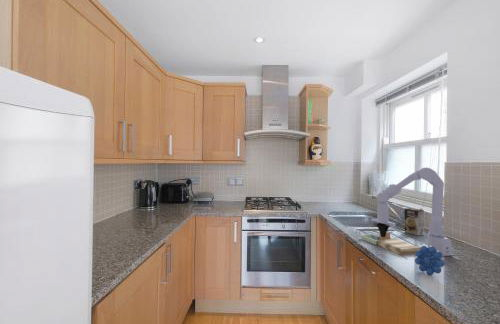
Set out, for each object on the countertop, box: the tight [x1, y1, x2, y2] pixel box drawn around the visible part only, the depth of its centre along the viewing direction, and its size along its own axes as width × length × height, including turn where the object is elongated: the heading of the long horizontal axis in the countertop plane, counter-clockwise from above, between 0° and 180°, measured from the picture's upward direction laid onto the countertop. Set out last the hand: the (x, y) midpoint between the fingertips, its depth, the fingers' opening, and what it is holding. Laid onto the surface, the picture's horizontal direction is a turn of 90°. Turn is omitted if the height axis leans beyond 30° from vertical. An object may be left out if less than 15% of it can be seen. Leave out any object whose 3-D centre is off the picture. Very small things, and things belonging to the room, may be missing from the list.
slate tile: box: [371, 233, 380, 240], centre depth 150 cm, size 5×5×2 cm
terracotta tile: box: [378, 231, 391, 240], centre depth 146 cm, size 5×5×2 cm
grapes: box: [414, 245, 446, 276], centre depth 102 cm, size 12×7×12 cm, turn 20°
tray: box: [359, 233, 395, 246], centre depth 148 cm, size 13×14×2 cm
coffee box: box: [404, 207, 425, 236], centre depth 166 cm, size 9×6×16 cm
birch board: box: [377, 238, 422, 256], centre depth 133 cm, size 16×12×3 cm
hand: (383, 236), depth 143 cm, fingers closed
